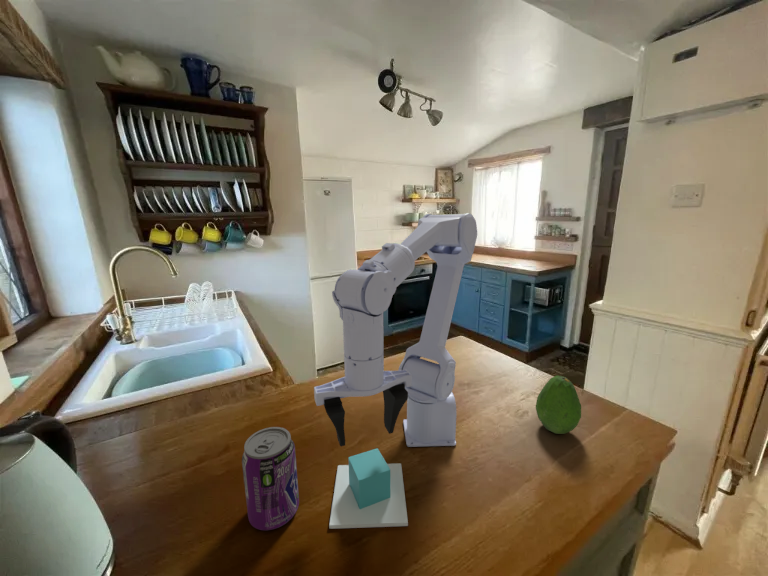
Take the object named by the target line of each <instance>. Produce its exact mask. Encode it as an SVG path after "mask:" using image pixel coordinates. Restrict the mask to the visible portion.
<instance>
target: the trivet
mask: <svg viewBox="0 0 768 576" xmlns="http://www.w3.org/2000/svg"><path fill="white" fill-rule="evenodd" d="M387 465H388V466H389V468H390V498H388V499H385V500H383V501H380V502H378V503H375V504H373V505H370V506H367V507H365V508H362V509H359V507H358V504H357V502H356V499H355V497H354V494H353V492H352V490H351V487H350V485H349V464H339V465H337V469H336V470H337V471H336V476H335V483H334V488H333V489H334V490H333V492H334V493H333V498H332V503H331V510H330V518H329V525H328V527H329V529H335V530H336V529H357V528H359V529H360V528H362V529H363V528H365V529H366V528H385V527H386V528H387V527H388V528H389V527H390V528H393V527H408V526H409V522H408V521H409V520H408V519H409V518H408V512H407V511H408V510H407V503H406V495H405V485H404V478H403V477H404V476H403V469H402V463H387Z"/></svg>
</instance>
